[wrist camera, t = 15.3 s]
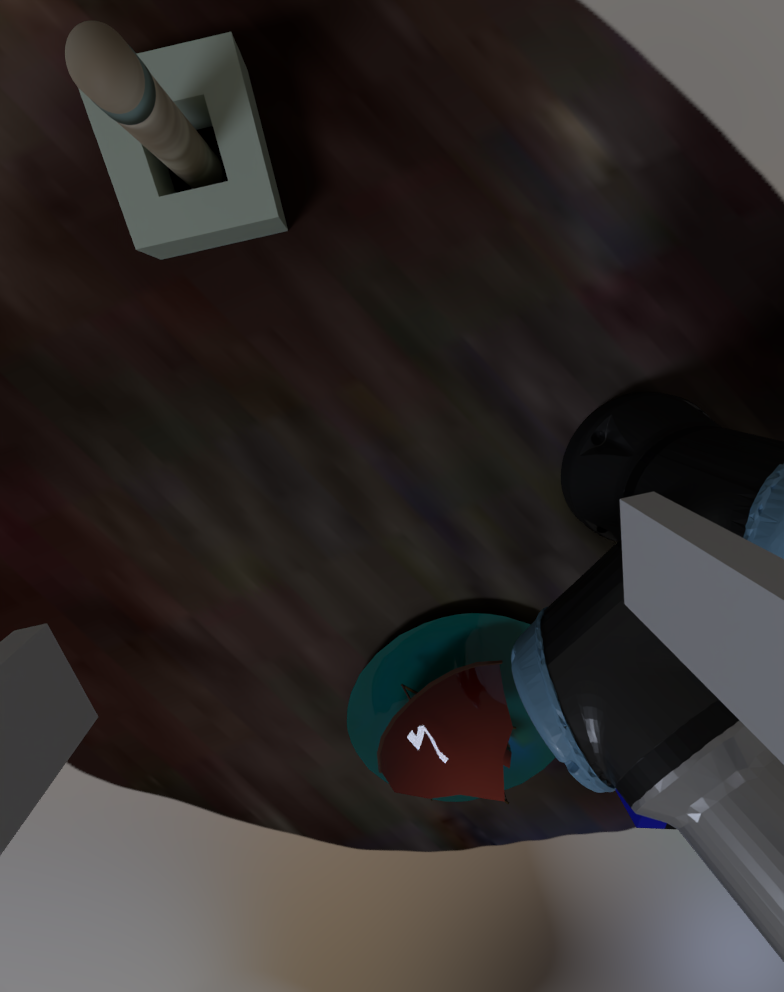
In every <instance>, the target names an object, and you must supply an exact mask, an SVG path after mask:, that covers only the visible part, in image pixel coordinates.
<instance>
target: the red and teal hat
mask: <svg viewBox="0 0 784 992" xmlns="http://www.w3.org/2000/svg"><path fill="white" fill-rule="evenodd" d="M529 626H530V624H528V623H525V622H521V621H518V620H515V619H512V618H508V617H505V616H499V615H493V614H480V613H467V614H457V615H452V616H448V617H443V618H439V619H436V620H433V621H430V622H427V623H424V624H422V625H420V626H418V627H416V628H414V629H411V630H409V631H407V632H405V633H403V634H401V635H399V636H398V637H397V638H395V639H394V640H393V641H392V642H391V643H389V644H388V645H387V646H386V647H384V648H383V649H382V650H381V651H379V652H378V653H377V654H376V655H375V656H374V658H373V659H372V660H371V661H370V662H369V664H368V665H367V666H366V667H365V668H364V670H363V671H362V672H361V673H360V675H359V677H358V679H357V681H356V684H355V686H354V688H353V690H352V692H351V695H350V700H349V704H348V711H347V728H348V733H349V736H350V740H351V743H352V745H353V747H354V749H355V750H356V752H357V754H358V755H359V757H360V758H361V759H362V761H363V762H364V763H365V765H366V766H367V767H368V769H369V770H371V771H372V772H373V773H375V774H376V775H377V776H379V777H380V778H381V779H383V780H384V781H385V782H387V783H388V784H390V786H391V787H392V789H393V790H394V792H396V793H402V794H407V795H413V796H418V797H424V798H428V799H431V801H432V799H433V800H440V801H453V802H461V801H470V800H474V799H478V798H485V799H492V800H498V801H504V802H506V803H507V804H509V802H508V801H507V799H506V800H505V799H504V794H505V793H504V790H506V789H509V788H511V787H514V786H517V785H519V784H522V783H523V782H525V781H526V780H528V779H529V778H531V777H532V776H534V775H535V774H537V773H538V772H540V771H541V770H543V769H544V768H545V767H546V766H547V765H548V764H549V763H550V762H551V761H552V760H553V759H554V758H555V755H554V754H553V753H552V752H551V750H550V749H549V747H548V746H547V745H546V743H545V742H544V740H543V739H542V737H541V736H540V734H539V732H538V731H537V729H536V727H535V726H534V724H533V722H532V721H531V719H530V717H529V715H528V713H527V711H526V709H525V707H524V705H523V703H522V701H521V698H520V696H519V693H518V691H517V688H516V685H515V682H514V678H513V674H512V663H511V654H512V649H513V646H514V644H515V642H516V640H517V639H518V638H519V637H520V636H521V635H522V634H523V633H524V632H525V631H526V629H527V628H528V627H529ZM505 797H506V796H505Z"/></svg>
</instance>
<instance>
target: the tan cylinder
mask: <svg viewBox="0 0 784 992" xmlns="http://www.w3.org/2000/svg"><path fill="white" fill-rule="evenodd" d="M65 59H66V64H67V68H68V71H69V73H70V75H71V77H72V79H73V81H74V82H75V84H76V85H77V86H78V88H79V89H80V90H81V91H82V92H83V93H84V94H85V95H87V96H88V97H89V98H90V99H91V100H92V102H93V103H94V104H95V105H97V106H98V107H99V108H100V109H101V110H102V111H103V112H105V113H106V114H107V115H108V116H109V117H110V118H112V119H113V120H115V121H116V122H117V123H118V124H120V125H121V126H122V127H123V128H124V129H125V130H126V131H128V132H129V133H130V134H131V135H132V136H133V137H134V138H135V139H137V140H138V141H139V142H140V143H141V144H142V145H143V146H145V147H146V148H147V149H148V150H149V151H150V152H151V153H153V154H154V155H155V156H156V157H157V158H158V159H159V160H160V161H162V162H163V163H164V164H165V165H166V166H167V167H168V168H170V169H171V170H172V171H173V172H174V173H175V174H176V175H178V176H179V177H180V178H181V179H182V180H183V181H184V182H185V183H187V184H188V185H189V186H190V187H191V188H192V189H195V188H200V187H204V186H209V185H213V184H217V183H221V181H222V177H223V170H222V165H221V162H220V160H219V159H218V157H217V156H216V154H215V153H214V152H213V151H212V149H211V148H210V147H209V146H208V144H207V143H206V142H205V141H204V139H203V138H202V137H201V136H200V134H199V133H198V132H197V131H196V129H195V128H194V127H193V126H192V124H191V123H190V122H189V121H188V119H187V118H186V117H185V116H184V114H183V113H182V112H181V111H180V109H179V108H178V107H177V106H176V104H175V103H174V102H173V101H172V99H171V98H170V97H169V96H168V94H167V93H166V92H165V91H164V89H163V88H162V87H161V86H160V84H159V83H158V82H157V81H156V79H155V78H154V77H153V76H152V74H151V73H150V72H149V70H148V68H147V67H146V65H145V64H144V63H143V62H142V60H141V59H140V58H139V57H138V55H137V54H136V53H135V52H134V50H133V49H132V48H131V47H130V46H129V45H128V44H127V43H126V42H125V41H124V39H123V38H122V37H121V36H120V35H119V34H118V33H117V32H116V31H115V30H114V29H113V28H111V27H110V26H108V25H106V24H104V23H102V22H98V21H85V22H82V23H80V24H78V25H77V26H76V27H74V29H73V30H72V31H71V32H70V34H69V36H68V38H67V42H66V47H65Z"/></svg>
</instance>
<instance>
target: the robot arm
mask: <svg viewBox="0 0 784 992" xmlns="http://www.w3.org/2000/svg"><path fill="white" fill-rule="evenodd" d="M561 485H562V490H563V494H564V498H565V500H566V502H567V504H568V506H569V508H570V510H571V511H572V512H573V514H574V515H575V516H576V517H577V518H578V519H579V520H580V521H581V522H582V523H584V524H585V525H586V526H587V527H589V528H590V529H591V530H592V531H594V532H596V533H597V534H599V535H601V536H603V537H606V538H608V539H611V540H615V541H619V542H618V543H617V544H616V545H614V546H613V547H612V548H611V549H610V550H609V551H608V552H607V553H606V554H605V555H604V556H602V557H601V558H600V559H599V560H598V561H597V562H596V563H595V564H594V565H593V566H592V567H591V568H590V569H589V570H588V571H587V572H586V573H584V574H583V575H582V576H581V577H580V578H579V579H578V580H577V581H576V582H575V583H574V584H573V585H572V586H570V587H569V588H568V589H567V590H566V591H565V592H564V593H563V594H562V595H561V596H559V597H558V598H557V599H556V600H555V601H554V602H553V603H552V604H551V605H550V606H549V607H546V608H544V609H542V610H541V611H540V612H539V614H538V616H537V618H536V620H535V621H534V622H533V623H532V624H531V625H530V626H529V627H528V628H527V629H526V631H525V632H524V633H523V634H522V635H521V636H520V637H519V638H518V639H517V640H516V642H515V644H514V646H513V649H512V654H511V663H512V674H513V678H514V682H515V685H516V688H517V691H518V693H519V696H520V698H521V701H522V703H523V705H524V707H525V709H526V711H527V713H528V715H529V717H530V719H531V721H532V722H533V724H534V726H535V727H536V729H537V731H538V732H539V734H540V736H541V737H542V739H543V740H544V742H545V743H546V745H547V746H548V747H549V749H550V750H551V752H552V753H553V754H554V755H555V757H556V758H557V759H558V760H559V761H560V762H564V763H565V765H566V766H567V768H568V770H569V772H570V774H571V775H572V776H573V777H574V778H575V779H576V780H577V781H579V782H580V783H581V784H582V785H584V786H585V787H587V788H589V789H590V790H592V791H594V792H599V793H602V792H613V791H614V790H616V789H617V790H618V792H619V793H620V794H621V796H622V797H623V798H624V800H625V801H626V802H627V804H628V805H629V806H630V808H631V809H632V810H633V811H634V812H635V813H636V814H639V815H642V816H645V817H649V818H652V819H655V820H659V821H662V822H665V823H668V824H669V825H671V826H673V827H675V828H676V829H678V830H679V831H680V833H681V834H682V835H683V837H684V838H685V839H686V840H687V841H688V843H689V844H690V845H691V847H692V848H693V849H694V850H695V851H696V853H697V854H698V855H699V857H700V858H701V859H702V860H703V862H704V863H705V864H706V865H707V866H708V868H709V869H710V870H711V871H712V873H713V874H714V875H715V876H716V878H717V879H718V880H719V882H720V883H721V884H722V885H723V887H724V888H725V889H726V890H727V892H728V893H729V894H730V895H731V897H732V898H733V899H734V900H735V901H736V902H737V904H738V905H739V906H740V908H741V909H742V910H743V911H744V913H745V914H746V915H747V917H748V918H749V919H750V920H751V922H752V923H753V924H754V925H755V927H756V928H757V929H758V930H759V932H760V933H761V934H762V935H763V937H764V938H765V939H766V940H767V942H768V943H769V944H770V945H771V947H772V948H773V949H774V950H775V952H776V953H777V954H778V955H779V957H780V958H781V959H782V960H783V962H784V442H782V441H778V440H774V439H769V438H765V437H761V436H756V435H752V434H748V433H743V432H739V431H735V430H730V429H726V428H722V427H720V426H719V425H718V424H717V423H715V422H714V421H713V420H711V419H710V417H709V416H708V415H707V414H706V413H705V412H704V411H703V410H702V409H700V408H699V407H698V406H696V405H695V404H693V403H691V402H689V401H687V400H685V399H683V398H680V397H677V396H673V395H667V394H662V393H656V392H639V393H632V394H628V395H624V396H621V397H619V398H616V399H614V400H612V401H610V402H608V403H606V404H605V405H603V406H601V407H600V408H598V409H597V410H596V411H595V412H593V413H592V414H591V415H590V416H589V417H588V418H587V419H586V420H585V421H584V422H583V423H582V424H581V425H580V427H579V428H578V429H577V431H576V432H575V434H574V435H573V437H572V439H571V440H570V442H569V444H568V447H567V449H566V452H565V455H564V458H563V462H562V469H561ZM97 718H98V716H97V714H96V712H95V710H94V708H93V707H92V705H91V703H90V701H89V699H88V697H87V696H86V694H85V692H84V690H83V688H82V686H81V685H80V683H79V681H78V679H77V677H76V676H75V674H74V672H73V670H72V668H71V666H70V665H69V663H68V661H67V659H66V657H65V656H64V654H63V652H62V650H61V648H60V646H59V645H58V643H57V641H56V639H55V637H54V636H53V634H52V632H51V630H50V628H49V626H48V625H47V624H43V625H38V626H34V627H29V628H25V629H20V630H15V631H13V632H12V633H11V634H10V635H8V636H7V637H6V638H5V639H4V640H2V641H1V642H0V855H1V854H2V852H3V851H4V850H5V848H6V847H7V845H8V844H9V842H10V841H11V840H12V838H13V837H14V835H15V834H16V832H17V831H18V830H19V828H20V827H21V825H22V824H23V823H24V821H25V820H26V818H27V817H28V816H29V814H30V813H31V811H32V810H33V808H34V807H35V806H36V804H37V803H38V801H39V800H40V799H41V797H42V796H43V794H44V793H45V791H46V790H47V789H48V787H49V786H50V784H51V783H52V781H53V780H54V779H55V777H56V776H57V775H58V773H59V772H60V770H61V769H62V767H63V766H64V765H65V763H66V762H67V760H68V759H69V758H70V756H71V755H72V753H73V752H74V750H75V749H76V748H77V746H78V745H79V743H80V742H81V741H82V739H83V738H84V736H85V735H86V733H87V732H88V731H89V729H90V728H91V726H92V725H93V724H94V722H95V721H96V719H97Z"/></svg>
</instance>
